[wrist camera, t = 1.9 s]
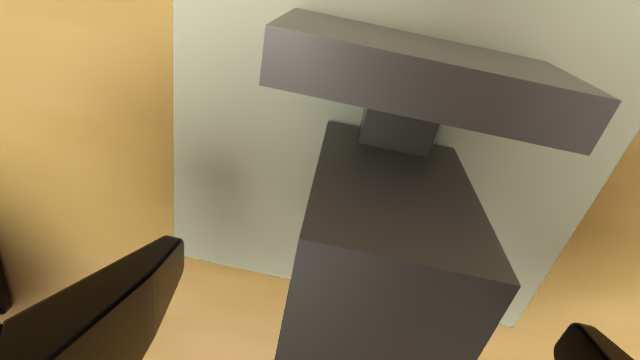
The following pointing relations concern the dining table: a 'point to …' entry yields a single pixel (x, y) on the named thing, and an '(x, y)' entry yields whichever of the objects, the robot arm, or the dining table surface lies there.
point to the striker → (409, 185)
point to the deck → (314, 113)
